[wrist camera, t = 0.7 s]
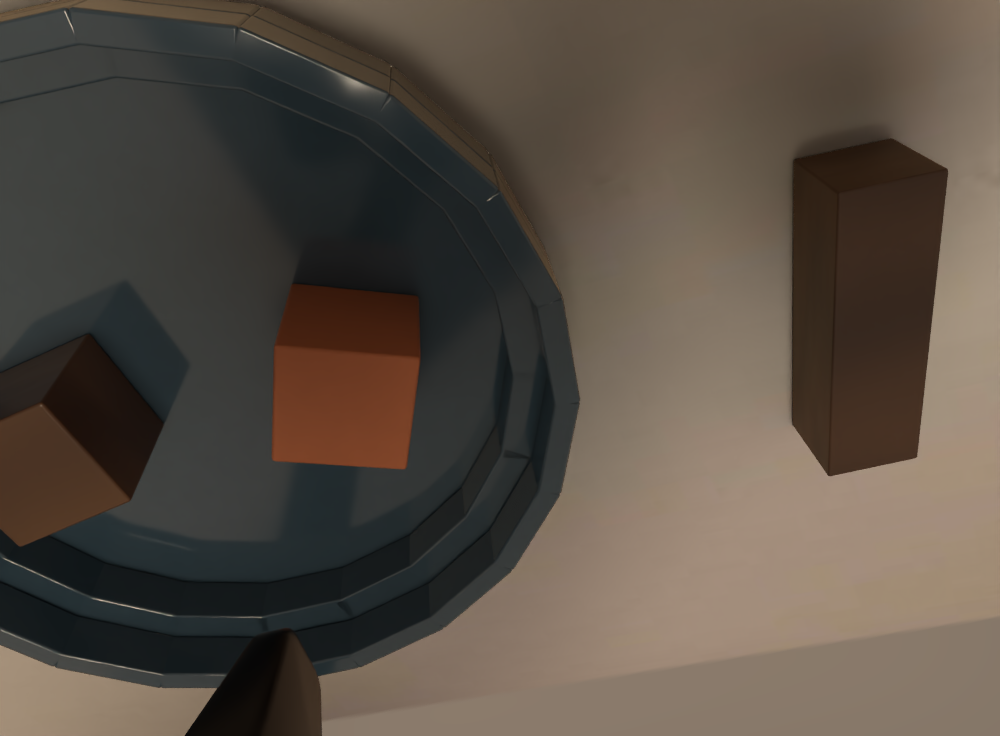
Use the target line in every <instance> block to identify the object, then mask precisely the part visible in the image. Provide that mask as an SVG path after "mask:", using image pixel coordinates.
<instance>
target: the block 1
mask: <svg viewBox="0 0 1000 736" xmlns="http://www.w3.org/2000/svg"><path fill="white" fill-rule="evenodd" d="M163 426H164V425H163V423H162V421H161V420H160V419H159V418H158V416H157V415H156V414H155V413H154V412H153V410H152V409H151V408H150V407H149V406H148V404H147V403H146V402H145V401H144V399H143V398H142V397H141V396H140V395H139V393H138V392H137V391H136V390H135V389H134V387H133V386H132V385H131V384H130V382H129V381H128V380H127V379H126V378H125V376H124V375H123V374H122V373H121V371H120V370H119V369H118V368H117V367H116V365H115V364H114V363H113V362H112V361H111V359H110V358H109V357H108V356H107V354H106V353H105V352H104V351H103V350H102V348H101V347H100V346H99V345H98V344H97V342H96V341H95V340H94V339H93V337H92V336H91V335H90V334H87V335H84V336H82V337H80V338H77V339H75V340H73V341H71V342H69V343H66V344H64V345H62V346H60V347H57V348H55V349H53V350H51V351H49V352H46V353H44V354H42V355H40V356H37V357H35V358H33V359H31V360H29V361H26V362H24V363H22V364H20V365H17V366H15V367H13V368H11V369H9V370H6V371H4V372H2V373H0V529H1V530H2V531H3V532H4V533H5V534H6V535H7V536H8V537H9V538H10V539H12V540H13V541H14V542H15V543H16V544H17V545H18V546H20V547H21V546H24V545H26V544H29V543H31V542H34V541H36V540H38V539H41V538H43V537H46V536H48V535H50V534H53V533H55V532H58V531H60V530H62V529H65V528H67V527H70V526H72V525H75V524H77V523H79V522H82V521H84V520H87V519H89V518H91V517H94V516H96V515H99V514H101V513H103V512H106V511H108V510H111V509H113V508H115V507H118V506H120V505H123V504H125V503H127V502H129V501H131V499H132V497H133V495H134V492H135V490H136V488H137V486H138V483H139V481H140V479H141V477H142V474H143V472H144V470H145V467H146V465H147V463H148V461H149V458H150V456H151V454H152V451H153V449H154V447H155V445H156V442H157V440H158V438H159V435H160V433H161V431H162V429H163Z"/></svg>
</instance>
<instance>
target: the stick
mask: <svg viewBox="0 0 1000 736" xmlns="http://www.w3.org/2000/svg"><path fill="white" fill-rule="evenodd" d="M947 177H948V169H947V168H945V167H943V166H941V165H939V164H938V163H936V162H934V161H932V160H930V159H929V158H927V157H925V156H923V155H921V154H920V153H918V152H916V151H914V150H912V149H911V148H909V147H907V146H905V145H903V144H902V143H900V142H898V141H896V140H894V139H892V138H890V139H886V140H881V141H877V142H872V143H868V144H863V145H859V146H854V147H849V148H845V149H840V150H836V151H831V152H827V153H822V154H817V155H813V156H808V157H804V158H799V159H795V160H794V238H793V426H794V427H795V429H796V430H797V431H798V433H799V434H800V436H801V437H802V439H803V440H804V442H805V443H806V444H807V446H808V447H809V449H810V450H811V452H812V453H813V454H814V456H815V457H816V459H817V460H818V462H819V463H820V465H821V466H822V467H823V469H824V470H825V472H826V473H827V475H828V476H833V475H838V474H843V473H848V472H852V471H857V470H862V469H867V468H871V467H876V466H881V465H885V464H890V463H895V462H900V461H904V460H909V459H914V458H916V457H917V452H918V443H919V434H920V425H921V416H922V407H923V397H924V388H925V379H926V370H927V361H928V352H929V342H930V333H931V324H932V315H933V306H934V297H935V287H936V278H937V269H938V260H939V251H940V242H941V232H942V223H943V214H944V205H945V196H946V187H947Z"/></svg>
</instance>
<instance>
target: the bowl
mask: <svg viewBox="0 0 1000 736" xmlns="http://www.w3.org/2000/svg"><path fill="white" fill-rule="evenodd" d="M292 284H303V285H313V286H323V287H333V288H343V289H353V290H363V291H374V292H384V293H394V294H404V295H414V296H418V298H419V324H420V367H419V375H418V383H417V391H416V399H415V407H414V415H413V423H412V431H411V439H410V447H409V454H408V462H407V467H406V469H389V468H373V467H357V466H342V465H326V464H310V463H295V462H279V461H273V459H272V416H273V365H274V345H275V341H276V338H277V334H278V330H279V327H280V323H281V320H282V316H283V313H284V309H285V305H286V302H287V298H288V295H289V291H290V288H291V285H292ZM87 334H90V335H91V336H92V337H93V339H94V340H95V341H96V342H97V344H98V345H99V346H100V347H101V348H102V350H103V351H104V352H105V353H106V354H107V356H108V357H109V358H110V359H111V361H112V362H113V363H114V364H115V365H116V367H117V368H118V369H119V370H120V371H121V373H122V374H123V375H124V376H125V378H126V379H127V380H128V381H129V382H130V384H131V385H132V386H133V387H134V389H135V390H136V391H137V392H138V393H139V395H140V396H141V397H142V398H143V399H144V401H145V402H146V403H147V404H148V406H149V407H150V408H151V409H152V410H153V412H154V413H155V414H156V415H157V416H158V418H159V419H160V420H161V421H162V423H163V425H164V426H163V429H162V431H161V433H160V435H159V438H158V440H157V442H156V445H155V447H154V449H153V451H152V454H151V456H150V458H149V461H148V463H147V465H146V467H145V470H144V472H143V474H142V477H141V479H140V481H139V483H138V486H137V488H136V490H135V492H134V495H133V497H132V499H131V501H129V502H127V503H125V504H123V505H120V506H118V507H115V508H113V509H111V510H108V511H106V512H103V513H101V514H99V515H96V516H94V517H91V518H89V519H87V520H84V521H82V522H79V523H77V524H75V525H72V526H70V527H67V528H65V529H62V530H60V531H58V532H55V533H53V534H50V535H48V536H46V537H43V538H41V539H38V540H36V541H34V542H31V543H29V544H26V545H24V546H21V547H20V546H18V545H17V544H16V543H15V542H14V541H13V540H12V539H10V538H9V537H8V536H7V535H6V534H5V533H4V532H3V531H2V530H1V529H0V645H1V646H4V647H6V648H9V649H11V650H13V651H16V652H18V653H21V654H23V655H26V656H28V657H31V658H33V659H35V660H38V661H40V662H43V663H45V664H48V665H50V666H55V667H56V668H59V669H64V670H69V671H75V672H80V673H85V674H90V675H95V676H100V677H106V678H111V679H116V680H121V681H126V682H131V683H137V684H142V685H147V686H152V687H157V688H160V687H162V688H218V687H219V685H220V684H221V682H222V681H223V680H224V678H225V677H226V675H227V674H228V672H229V671H230V669H231V668H232V667H233V665H234V664H235V662H236V661H237V659H238V658H239V656H240V655H241V653H242V652H243V651H244V649H245V648H246V646H247V645H248V643H249V642H250V641H251V639H253V638H254V637H255V636H256V635H258V634H260V633H264V632H269V631H273V630H277V629H282V628H291V629H292V630H294V631H295V633H296V634H297V635H298V637H299V639H300V641H301V643H302V645H303V647H304V649H305V651H306V653H307V655H308V657H309V658H310V660H311V662H312V664H313V666H314V668H315V670H316V672H317V675H318V676H321V675H326V674H331V673H336V672H341V671H345V670H350V669H355V668H358V667H362V666H364V665H367V664H369V663H371V662H373V661H375V660H377V659H379V658H382V657H384V656H386V655H388V654H390V653H392V652H395V651H397V650H399V649H401V648H403V647H405V646H407V645H410V644H412V643H414V642H416V641H418V640H420V639H423V638H425V637H427V636H429V635H431V634H433V633H436V632H438V631H440V630H442V629H443V627H446V626H447V625H449V624H450V623H451V622H452V621H453V620H454V619H456V618H457V617H458V616H459V615H460V614H462V613H463V612H464V611H465V610H466V609H468V608H469V607H470V606H471V605H472V604H474V603H475V602H476V601H477V600H478V599H479V598H481V597H482V596H483V595H484V594H485V593H487V592H488V591H489V590H490V589H491V588H493V587H494V586H495V585H496V584H497V583H499V582H500V581H501V580H502V579H503V578H504V577H506V576H507V575H508V574H509V573H510V572H511V571H512V569H514V568H515V566H516V565H517V563H518V561H519V560H520V558H521V557H522V555H523V553H524V552H525V550H526V549H527V547H528V545H529V544H530V542H531V541H532V539H533V538H534V536H535V534H536V533H537V531H538V530H539V528H540V526H541V525H542V523H543V522H544V520H545V518H546V517H547V515H548V514H549V512H550V510H551V509H552V507H553V506H554V504H555V502H556V501H557V499H558V498H559V496H560V493H561V491H562V486H563V481H564V476H565V472H566V467H567V462H568V457H569V452H570V448H571V443H572V438H573V433H574V428H575V424H576V419H577V414H578V409H579V405H580V403H579V401H580V396H579V390H578V384H577V378H576V372H575V366H574V360H573V355H572V349H571V343H570V337H569V331H568V325H567V319H566V313H565V307H564V301H563V297H562V295H561V292H560V289H559V286H558V284H557V281H556V278H555V275H554V273H553V270H552V267H551V264H550V262H549V259H548V256H547V253H546V251H545V248H544V246H543V245H542V243H541V241H540V239H539V238H538V236H537V234H536V232H535V231H534V229H533V227H532V225H531V224H530V222H529V220H528V218H527V217H526V215H525V213H524V211H523V210H522V208H521V206H520V204H519V203H518V201H517V199H516V197H515V196H514V194H513V192H512V190H511V188H510V187H509V185H508V183H507V181H506V180H505V178H504V176H503V174H502V173H501V171H500V169H499V167H498V166H497V164H496V162H495V160H494V159H493V157H492V155H491V154H490V153H488V151H487V149H486V148H485V147H484V146H483V145H481V144H480V143H479V142H478V141H477V140H476V139H475V138H474V137H473V136H471V135H470V134H469V133H468V132H467V131H466V130H465V129H464V128H462V127H461V126H460V125H459V124H458V123H457V122H456V121H455V120H454V119H452V118H451V117H450V116H449V115H448V114H447V113H446V112H445V111H444V110H442V109H441V108H440V107H439V106H438V105H437V104H436V103H435V102H433V101H432V100H431V99H430V98H429V97H428V96H427V95H426V94H425V93H423V92H422V91H421V90H420V89H419V88H418V87H417V86H416V85H415V84H413V83H412V82H411V81H410V80H409V79H408V78H407V77H406V76H404V75H403V74H402V73H401V72H400V71H399V70H398V69H397V68H395V67H393V66H392V67H391V65H390V64H389V63H388V62H386V61H383V60H381V59H379V58H377V57H375V56H372V55H370V54H368V53H366V52H364V51H361V50H359V49H357V48H355V47H353V46H350V45H348V44H346V43H344V42H342V41H339V40H337V39H335V38H333V37H331V36H328V35H326V34H324V33H322V32H320V31H317V30H315V29H313V28H311V27H309V26H306V25H304V24H302V23H300V22H297V21H295V20H293V19H291V18H289V17H286V16H284V15H282V14H280V13H278V12H275V11H273V10H271V9H269V8H267V7H261V8H260V6H258V5H257V4H248V3H239V2H231V1H222V0H57V1H53V2H48V3H44V4H39V5H35V6H30V7H26V8H22V9H17V10H13V11H8V12H4V13H0V373H2V372H4V371H6V370H9V369H11V368H13V367H15V366H17V365H20V364H22V363H24V362H26V361H29V360H31V359H33V358H35V357H37V356H40V355H42V354H44V353H46V352H49V351H51V350H53V349H55V348H57V347H60V346H62V345H64V344H66V343H69V342H71V341H73V340H75V339H77V338H80V337H82V336H84V335H87Z"/></svg>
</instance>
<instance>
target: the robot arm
mask: <svg viewBox="0 0 1000 736" xmlns="http://www.w3.org/2000/svg"><path fill="white" fill-rule="evenodd" d="M185 736H322V721H321V690H320V683H319V678H318V675H317V672H316V670H315V668H314V666H313V664H312V662H311V660H310V658H309V657H308V655H307V653H306V651H305V649H304V647H303V645H302V643H301V641H300V639H299V637H298V635H297V634H296V633H295V631H294V630H292V629H291V628H282V629H277V630H273V631H269V632H264V633H260V634H258V635H256V636H255V637H254V638H253V639H251V641H250V642H249V643H248V645H247V646H246V648H245V649H244V651H243V652H242V653H241V655H240V656H239V658H238V659H237V661H236V662H235V664H234V665H233V667H232V668H231V669H230V671H229V672H228V674H227V675H226V677H225V678H224V680H223V681H222V682H221V684H220V685H219V687H218V688H217V690H216V691H215V693H214V694H213V695H212V697H211V698H210V700H209V701H208V703H207V704H206V706H205V707H204V708H203V710H202V711H201V713H200V714H199V716H198V717H197V719H196V720H195V722H194V723H193V724H192V726H191V727H190V729H189V730H188V732H187V733H186V735H185Z"/></svg>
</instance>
